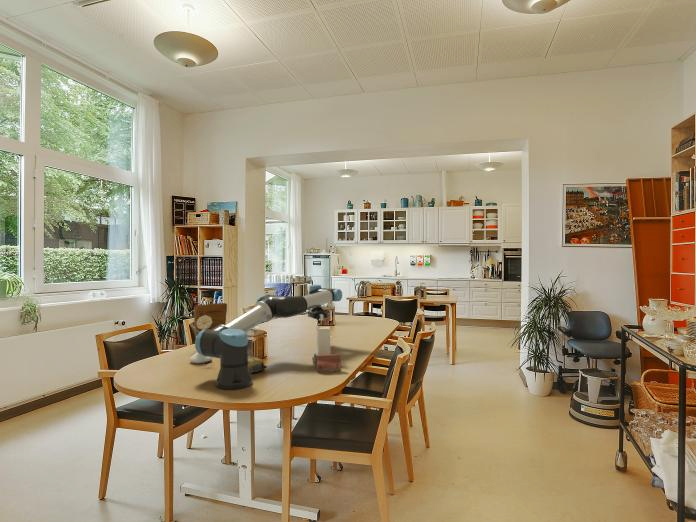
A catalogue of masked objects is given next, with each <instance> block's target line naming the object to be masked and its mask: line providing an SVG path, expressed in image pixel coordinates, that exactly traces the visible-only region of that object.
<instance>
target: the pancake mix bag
mask: <svg viewBox="0 0 696 522" xmlns="http://www.w3.org/2000/svg"><path fill="white" fill-rule="evenodd" d="M195 305H196V304H195ZM227 312H228V304H227V303H225V302H220V303H210V304H197V305H196V306H194V307H193V320H194V323H193V325H194V330H195V337H196V336H197V335H198V333H199V332H200V331H202V329H199V328H197V327H198V326H197V324H196V322H197V320H198V319H199V318H201V317H202V316H205V315H206V316H209V317H210V318H211V319H212V324H211V325H210V327H209V328H206V329H209V330H211V329H213V328H215V327H216V326H218V325H226V324H227V314H228V313H227ZM196 330H197V331H196ZM198 331H199V332H198Z"/></svg>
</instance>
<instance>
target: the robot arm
mask: <svg viewBox="0 0 696 522" xmlns="http://www.w3.org/2000/svg"><path fill="white" fill-rule="evenodd" d="M342 299H343V291H342V289H340V288H326V287H324V288H323V287H322V285H321V284H311V285H309V287H308V294H306V295H296V296H293V295H292V296H290V295H275V294H263V295H260V296H259V297H258V298H257V300H256V302H255V304H254V307H252V308H251V309H250V310H247V311H246V312H244V313H243V314H241V315H239V316H237V317H236V318H235V319H232V320H231V321H229V322H227V323H226V324H225V325H218V326H216V327H215V328H213V329H211V330H208V329H206V330H202V331H200V332H199V333H198V335H197V337H196V336H195V340H194V348H195V350H196V352H198V353H199V354H200V355H203V356H206V357H212V358H215V359H220V360H219V361H220V362H219V363H220V364H219V365H220V367H219V371H218V374H217V378H216V382H215V384H216V388H218V389H221V390H239V389H243V388H244V389H245V388H247V387H249V386H251V385H252V384H253V376H252V374H251V373H252V372H251V373H250V370H249V367H248V356H249V338H248V332H249V331H251V330H252V329H254V328H255V327H257V326H258V325H261V324H262V323H264V322H265V323H267V322H270V321H271V320H273V319H274V318H280V319H281V318H283V319H286V318H287V319H288V318H292V317H296V316H298V315H301V314H304V313H306V312H307V311H308V312H307V317H309V318H312V319H315V320H317V321H320V322H322V321H324V319H327V318H329V316H330V311H324V308H322V305H326V304H330V303H331V302H336V303H337V302H341V301H342Z"/></svg>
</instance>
